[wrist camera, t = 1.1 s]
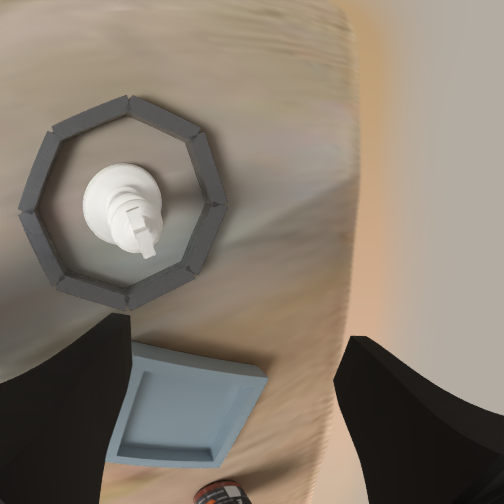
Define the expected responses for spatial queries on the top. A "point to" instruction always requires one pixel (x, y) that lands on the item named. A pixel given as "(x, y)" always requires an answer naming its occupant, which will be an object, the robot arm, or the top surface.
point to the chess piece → (125, 208)
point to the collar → (199, 238)
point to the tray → (182, 409)
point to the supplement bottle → (222, 494)
